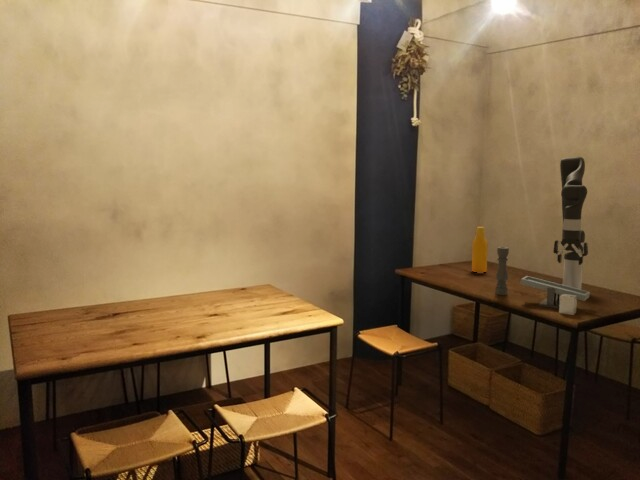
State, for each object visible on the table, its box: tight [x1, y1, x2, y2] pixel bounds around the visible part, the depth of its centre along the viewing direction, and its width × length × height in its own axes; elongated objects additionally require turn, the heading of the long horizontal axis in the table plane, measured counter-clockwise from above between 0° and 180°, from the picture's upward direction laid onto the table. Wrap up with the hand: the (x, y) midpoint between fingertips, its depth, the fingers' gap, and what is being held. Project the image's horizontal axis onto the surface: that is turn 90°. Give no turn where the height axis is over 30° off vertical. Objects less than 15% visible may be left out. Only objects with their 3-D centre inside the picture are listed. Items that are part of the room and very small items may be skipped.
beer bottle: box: [471, 226, 488, 273], centre depth 336 cm, size 9×9×29 cm
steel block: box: [558, 294, 578, 316], centre depth 246 cm, size 6×6×8 cm
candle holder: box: [494, 246, 510, 296], centre depth 280 cm, size 6×6×25 cm
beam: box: [519, 275, 591, 302], centre depth 258 cm, size 9×30×3 cm, turn 52°
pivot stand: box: [538, 288, 561, 310], centre depth 259 cm, size 12×10×9 cm
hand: (569, 263), depth 244 cm, fingers open, 8 cm apart
